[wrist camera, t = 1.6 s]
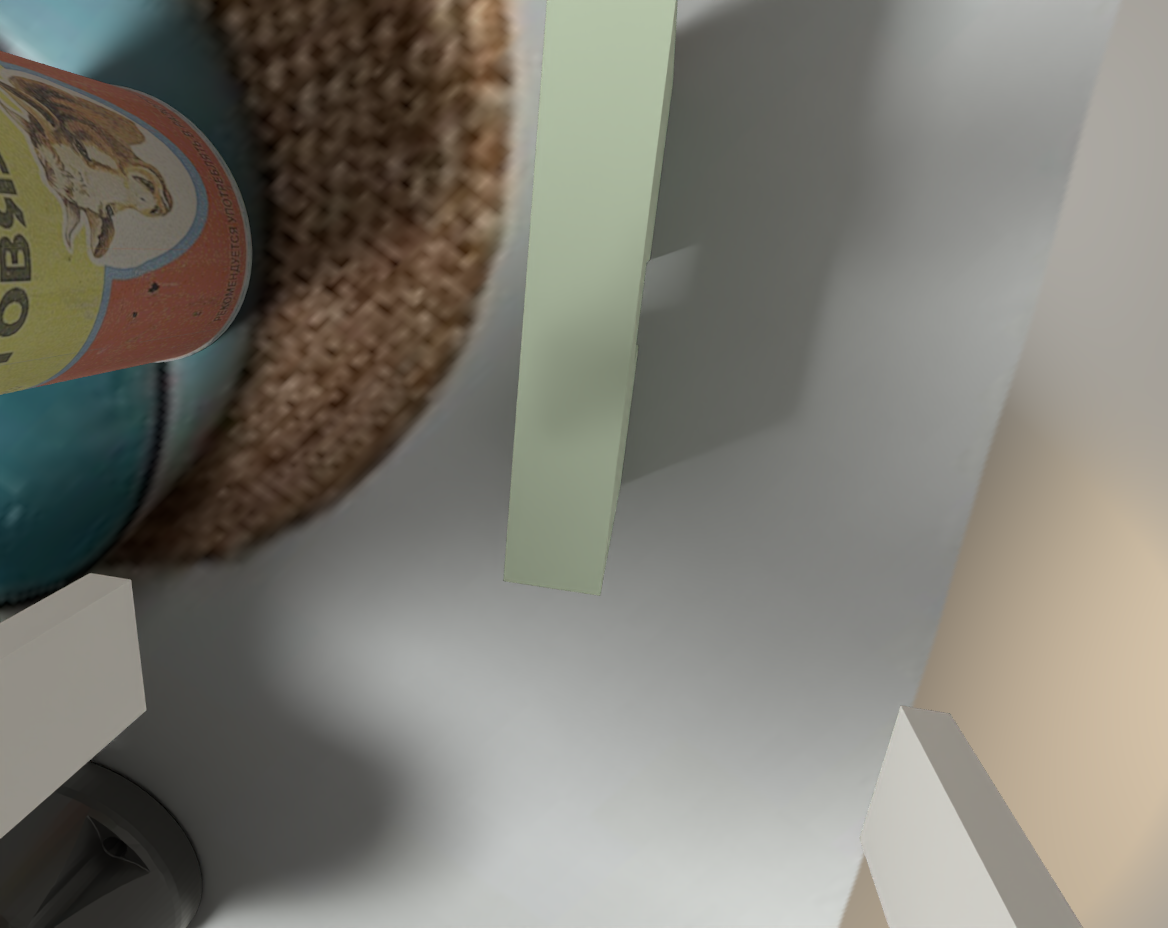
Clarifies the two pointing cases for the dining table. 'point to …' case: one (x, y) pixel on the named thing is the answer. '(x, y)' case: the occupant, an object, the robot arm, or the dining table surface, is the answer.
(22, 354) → the canned food
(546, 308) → the green arch bridge
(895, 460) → the dining table surface
